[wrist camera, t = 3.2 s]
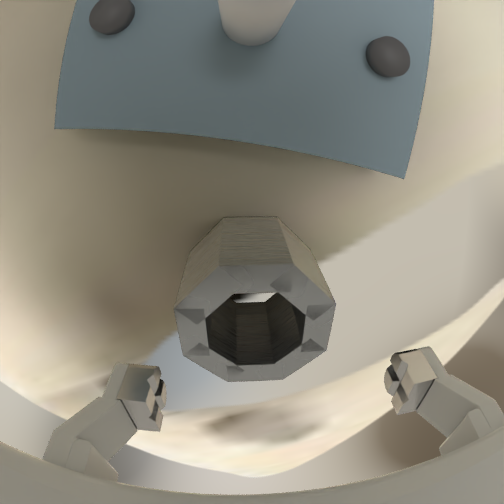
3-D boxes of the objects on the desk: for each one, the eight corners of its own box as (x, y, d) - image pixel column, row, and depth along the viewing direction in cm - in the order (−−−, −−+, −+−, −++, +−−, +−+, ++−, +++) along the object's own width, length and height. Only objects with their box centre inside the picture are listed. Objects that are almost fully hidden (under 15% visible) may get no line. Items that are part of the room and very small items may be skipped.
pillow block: (82, 123, 11) (-24, 150, 5) (119, -43, 7) (53, -107, 1) (378, 166, 13) (475, 220, 7) (407, 4, 9) (502, -31, 3)
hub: (197, 319, 16) (189, 381, 12) (186, 218, 14) (166, 266, 10) (303, 315, 17) (320, 376, 13) (313, 216, 14) (343, 262, 10)
